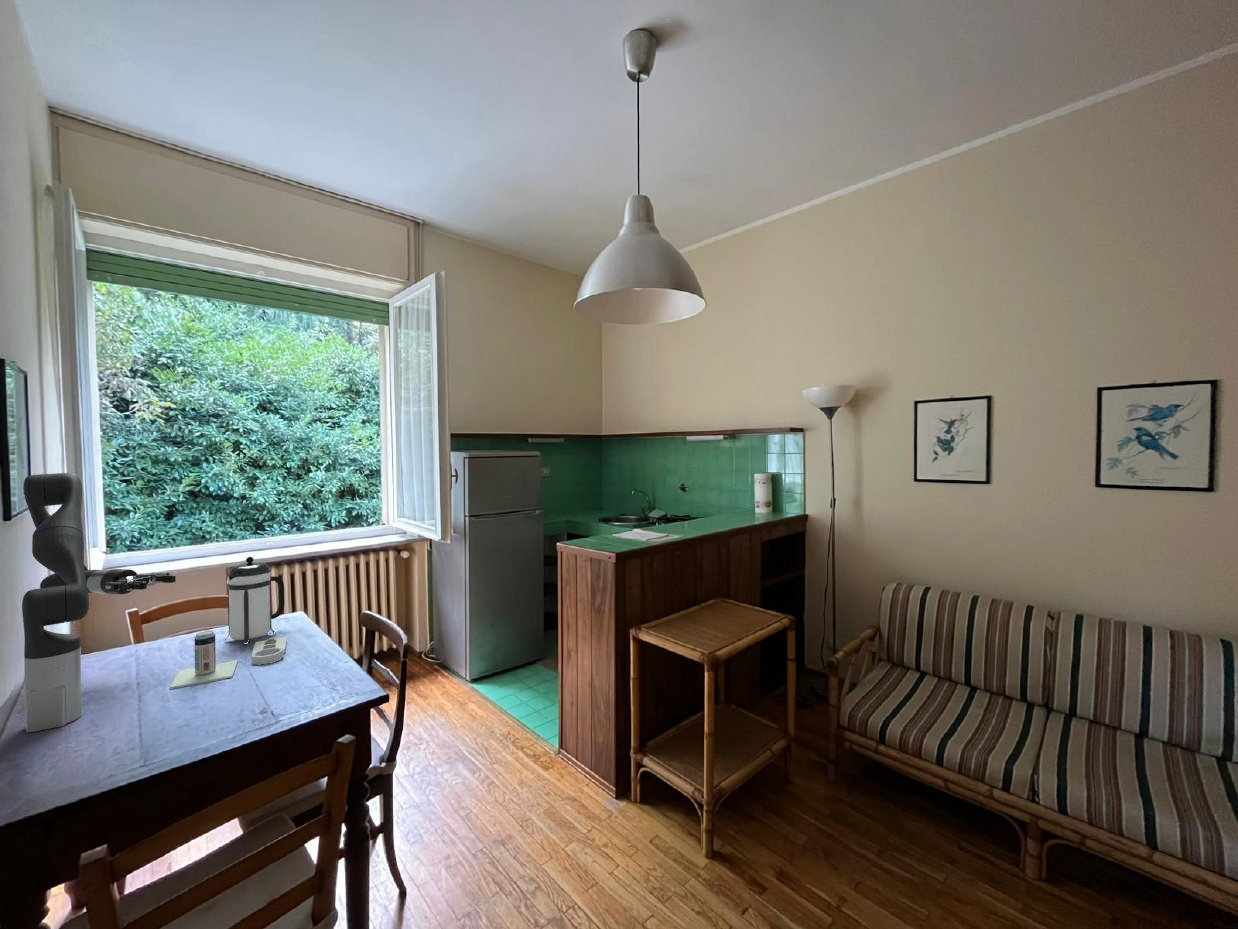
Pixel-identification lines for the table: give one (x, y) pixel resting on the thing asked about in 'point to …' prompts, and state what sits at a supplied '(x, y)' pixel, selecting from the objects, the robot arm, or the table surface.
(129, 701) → the table surface
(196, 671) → the beer can
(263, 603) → the coffee press
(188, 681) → the sage mat
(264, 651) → the charging dock
